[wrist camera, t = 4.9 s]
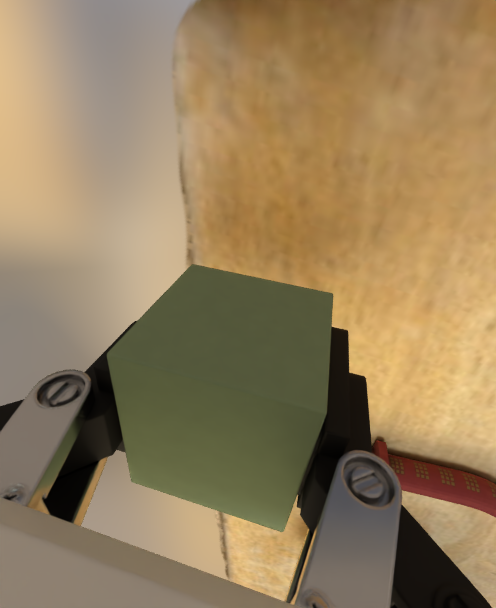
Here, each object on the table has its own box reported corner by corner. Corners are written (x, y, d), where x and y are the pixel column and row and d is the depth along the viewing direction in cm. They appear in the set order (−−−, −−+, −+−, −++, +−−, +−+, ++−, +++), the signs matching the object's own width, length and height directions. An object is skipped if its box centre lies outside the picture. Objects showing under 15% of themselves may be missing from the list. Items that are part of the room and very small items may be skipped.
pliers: (330, 367, 23) (329, 394, 21) (530, 500, 25) (548, 537, 23) (249, 435, 29) (242, 461, 27) (415, 536, 32) (421, 568, 30)
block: (191, 374, 13) (130, 482, 9) (191, 263, 10) (104, 353, 6) (301, 403, 12) (283, 533, 8) (333, 292, 9) (327, 413, 6)
